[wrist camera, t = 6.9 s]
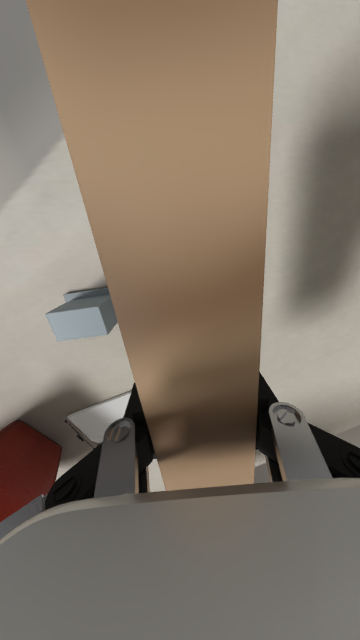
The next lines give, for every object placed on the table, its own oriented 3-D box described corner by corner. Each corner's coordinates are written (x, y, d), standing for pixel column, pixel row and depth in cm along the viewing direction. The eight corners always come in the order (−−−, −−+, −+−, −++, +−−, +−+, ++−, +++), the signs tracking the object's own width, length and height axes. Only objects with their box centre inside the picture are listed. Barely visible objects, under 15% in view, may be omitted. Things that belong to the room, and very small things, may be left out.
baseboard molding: (220, 402, 39) (199, 361, 35) (223, 414, 37) (200, 371, 32) (101, 443, 44) (70, 411, 40) (97, 455, 42) (63, 423, 37)
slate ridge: (130, 320, 31) (117, 340, 24) (79, 326, 31) (53, 348, 25) (120, 285, 28) (103, 297, 22) (65, 293, 29) (33, 307, 22)
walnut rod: (230, 468, 17) (250, 553, 12) (183, 472, 17) (185, 558, 12) (218, 127, 8) (280, -59, 3) (116, 144, 8) (24, -6, 3)
